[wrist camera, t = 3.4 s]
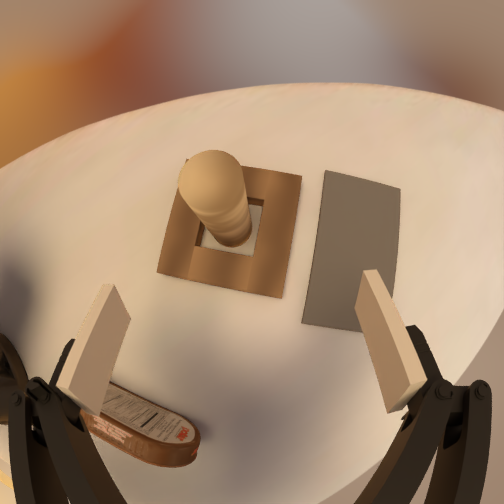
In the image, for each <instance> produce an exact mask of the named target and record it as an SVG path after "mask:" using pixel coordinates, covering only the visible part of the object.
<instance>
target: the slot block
mask: <svg viewBox="0 0 504 504" xmlns="http://www.w3.org/2000/svg"><path fill="white" fill-rule="evenodd" d="M188 160H189V159H186V162H187V161H188ZM186 162H185V163H186ZM241 168H242V172H243V177H244V183H245V189H246V195H247V200H248V204H254V205H260V206H263V210H262V215H261V220H260V225H259V230H258V236H257V241H256V246H255V251H254V256H253V257H250V256H245V255H240V254H234V253H229V252H224V251H219V250H213V249H208V248H203V247H200V244H201V240H202V236H203V231H204V227H205V225H204V224H203V223H202V222H201V220H200V219H199V218H198V217H197V215H196V214H195V213H194V212H193V210H192V209H191V208H190V207H189V205H188V204H187V203H186V202H185V200H184V199H183V198H182V196H181V194H180V192H179V188H178V189H177V192H176V196H175V199H174V203H173V207H172V210H171V214H170V218H169V222H168V226H167V229H166V233H165V238H164V242H163V246H162V250H161V254H160V259H159V263H158V268H157V273H161V274H165V275H169V276H173V277H178V278H182V279H187V280H191V281H196V282H201V283H205V284H210V285H215V286H220V287H224V288H229V289H234V290H239V291H244V292H249V293H254V294H260V295H265V296H270V297H275V298H282V293H283V288H284V282H285V277H286V272H287V266H288V261H289V255H290V249H291V243H292V237H293V232H294V225H295V219H296V213H297V207H298V201H299V194H300V187H301V181H302V176H300V175H294V174H289V173H284V172H278V171H272V170H266V169H260V168H253V167H247V166H241Z"/></svg>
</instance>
